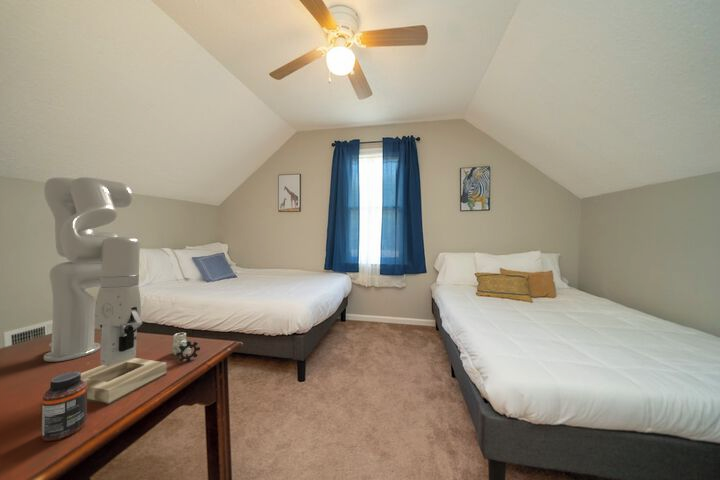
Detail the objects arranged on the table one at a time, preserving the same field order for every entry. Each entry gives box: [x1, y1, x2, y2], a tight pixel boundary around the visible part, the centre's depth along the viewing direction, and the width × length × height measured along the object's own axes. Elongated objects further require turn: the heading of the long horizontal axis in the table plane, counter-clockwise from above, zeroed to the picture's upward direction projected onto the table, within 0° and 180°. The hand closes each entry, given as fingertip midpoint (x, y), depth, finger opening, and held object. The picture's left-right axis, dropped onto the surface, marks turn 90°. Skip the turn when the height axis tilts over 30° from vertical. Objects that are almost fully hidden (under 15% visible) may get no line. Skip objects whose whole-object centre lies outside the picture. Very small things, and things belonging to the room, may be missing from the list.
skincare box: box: [99, 320, 138, 366], centre depth 67 cm, size 6×4×12 cm
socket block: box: [80, 357, 168, 406], centre depth 67 cm, size 16×14×4 cm
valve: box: [171, 331, 201, 363], centre depth 84 cm, size 7×7×12 cm
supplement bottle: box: [40, 371, 88, 442], centre depth 50 cm, size 6×6×11 cm
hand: (118, 347), depth 67 cm, fingers closed on skincare box, 4 cm apart
